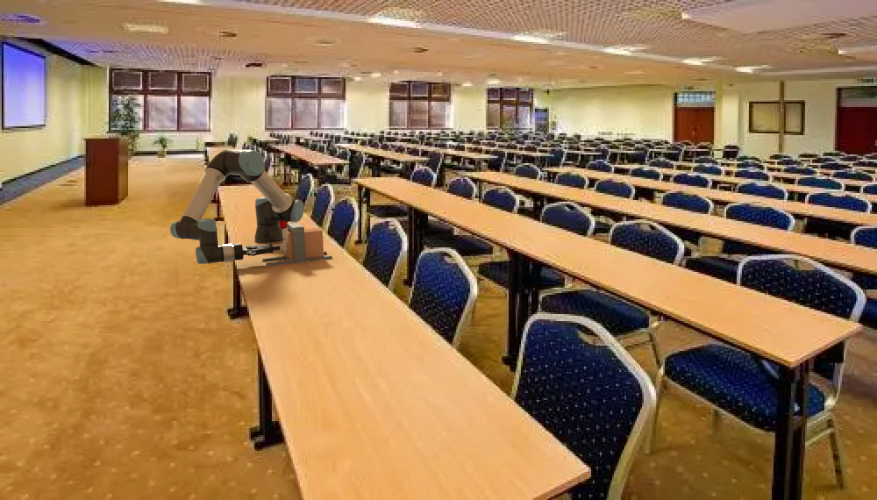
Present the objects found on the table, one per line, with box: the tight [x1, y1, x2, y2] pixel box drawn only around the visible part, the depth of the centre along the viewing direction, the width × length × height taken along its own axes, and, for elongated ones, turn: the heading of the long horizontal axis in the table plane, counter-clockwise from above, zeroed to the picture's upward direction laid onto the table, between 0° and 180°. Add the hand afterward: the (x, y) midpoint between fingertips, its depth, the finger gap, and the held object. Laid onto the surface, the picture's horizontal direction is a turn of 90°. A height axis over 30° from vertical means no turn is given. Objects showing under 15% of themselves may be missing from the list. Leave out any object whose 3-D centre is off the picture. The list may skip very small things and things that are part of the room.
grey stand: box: [261, 221, 333, 267], centre depth 283 cm, size 30×13×16 cm, turn 115°
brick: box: [285, 227, 325, 260], centre depth 285 cm, size 16×7×13 cm, turn 115°
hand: (286, 246), depth 281 cm, fingers closed
